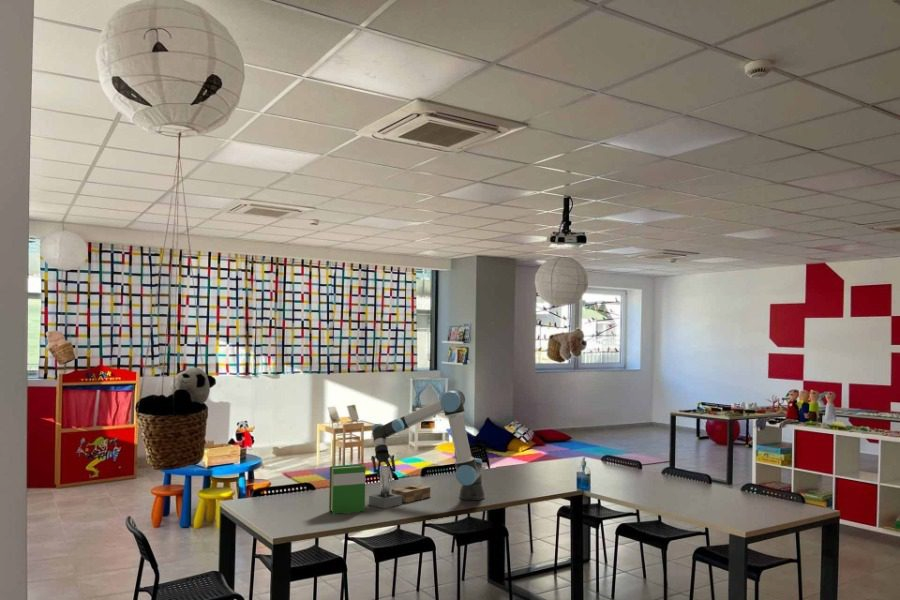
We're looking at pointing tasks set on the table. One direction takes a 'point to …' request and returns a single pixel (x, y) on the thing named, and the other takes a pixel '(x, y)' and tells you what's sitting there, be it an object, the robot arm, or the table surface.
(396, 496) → the socket
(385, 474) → the translucent white cylinder
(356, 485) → the hardback book
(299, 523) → the table surface
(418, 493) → the tan hollow box
